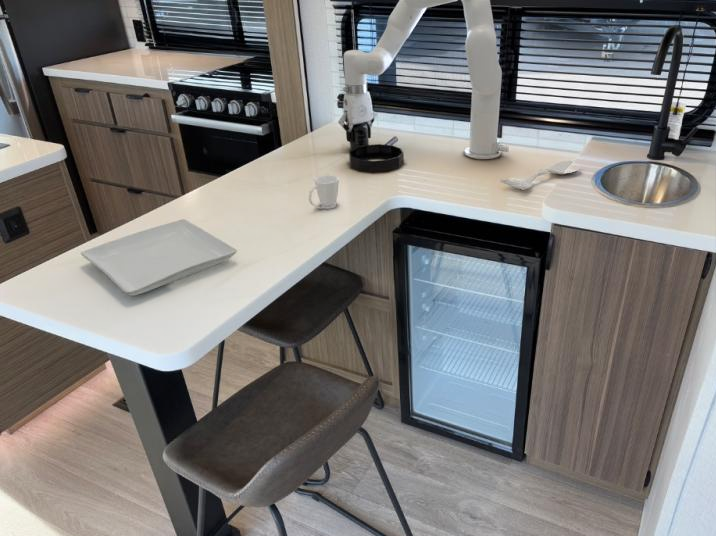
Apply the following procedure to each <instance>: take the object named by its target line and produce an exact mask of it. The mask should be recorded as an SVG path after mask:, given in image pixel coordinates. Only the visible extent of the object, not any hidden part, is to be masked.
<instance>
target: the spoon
mask: <svg viewBox="0 0 716 536" xmlns="http://www.w3.org/2000/svg"><path fill="white" fill-rule="evenodd" d="M573 161H574V160H564V161H560V162H556V163H554V164H552V165H550V166H549V167H548V168H547V169H546V168H545V169H539V171H536V173H533V174H532V175H531V176H529V177H528V178H527V179H524V180H510V179H505V178H501V179H500V180H499V181H500V183H503V184H504V185H507V186H508V187H512V188H515V189H518V190H522V191H523V190H527V189H530V188H531V187H533V182H534V181H535V179H536V178H537V177H539V176H542V175H548V174H549V173H551V174H557V175H562V176H563V173H564V172H565V170H566V169H567V168H568V167H569V166H570V165H571V164H572V163H573Z"/></svg>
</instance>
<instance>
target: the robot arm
mask: <svg viewBox="0 0 716 536" xmlns="http://www.w3.org/2000/svg"><path fill="white" fill-rule="evenodd" d="M457 1H458V0H398V2H397V3H396V5H395V7H394V8H393V10H392V12H391V13H390V15H389V17H388V19H387V23H386V27H385V30H384V32H383V34H382V35H381V37H380V39H379V40H378V42H377V43H376V45H375V47H374V48H373V50H370V51H369V52H364V51H363V50H362V49H361V50H360V49H351V50H350V49H349V50H346V51H345V52H344V53H343V69H344V87H343V88H342V92H345V93H344V95H343V107H342V110H343V111H342V113H343V114H342V115H341V117H340V118H339V120H337V121H338V124H339V125H340V126H341V128H342V129H344V131H345V137H346V141H347V142H349V143H350V142H351V143H353V142H354V141H353V131H351V130H352V127H353V125H354V124H359V123H363V122H364V123H366V124H367V126H368V139H371V138H372V136H371V135H372V126H373V123H374V122H375V119H376V118H377V112H375V111H374V110H373V103H372V97H371V94H370V91H368V76H373V77H375V76H376V77H377V76H380V75H382V74H383V73H385V71H387V69H388V68H389V67H390V66H391V64H392V63H393V62H394V60H395V58H396V56H397V55H398V53H399V52H400V51H401V49H402V47H403V45H404V43H405V42H406V40H408V38H409V37H410V35H411V34H412V32H413V30H414V29H415V27H416V26H417V24H418V22H419V21H420V19H421V18H422V17H423V14H425V12H426V11H427V9H428V8H432V7H436V6H440V5H445V4H449V3H453V2H457ZM460 1H461V3H462V6H463V15H464V19H465V26H466V38H465V42H464V43H465V45H464V46H465V47H464V48H465V55H466V62H467V68H468V74H469V79H470V80H469V81H470V85H471V104H470V122H469V145H468V147H466V148H465V149H464V155H465V156H466V157H468V158H470V159H476V160H490V159H491V160H492V159H496V158H499V157H500V156H501V153H502V152H503V153H509V150H510V147H509V146H508V145H507V144H501V143H500V140H499V139H498V134H499V120H500V119H499V117H500V105H501V91H502V90H501V89H502V78H503V71H502V67H501V65H500V63H499V56H498V47H497V40H498V39H497V34H496V30H495V24H494V17H493V12H492V5H491V0H460Z"/></svg>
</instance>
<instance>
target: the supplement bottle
mask: <svg viewBox="0 0 716 536" xmlns="http://www.w3.org/2000/svg"><path fill="white" fill-rule="evenodd" d="M351 131H353V141H354V142H353V143H351V142H349V145H350V146H349V149H350V151H351V150H353V149H354V148H357V147H360V146H364V145H370V142H369V139H370V138H368V126H367V124H366V123H364V122H363V123H359V124H354V125H353V127H352V130H351Z"/></svg>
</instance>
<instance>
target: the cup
mask: <svg viewBox="0 0 716 536" xmlns="http://www.w3.org/2000/svg"><path fill="white" fill-rule="evenodd" d="M313 180H314V181H313V182H314V184H315V185H314V186H312V187H311V188H310V190H309V191H308V202H309V204H310V205H311V206H313V207H315V208H317V209H322V210H323V209H327V210H330V209H334V208H335V207H337V199H338V194H339V181H340V179H339V178H338V176H336V175H330V174H327V175H319V176H318V177H316V178H314V179H313ZM315 189H316V193H317V196H318V199H319V202H320V206H318V205H316V204H314V203H313V201H312V194H313V192H314V190H315Z"/></svg>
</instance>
